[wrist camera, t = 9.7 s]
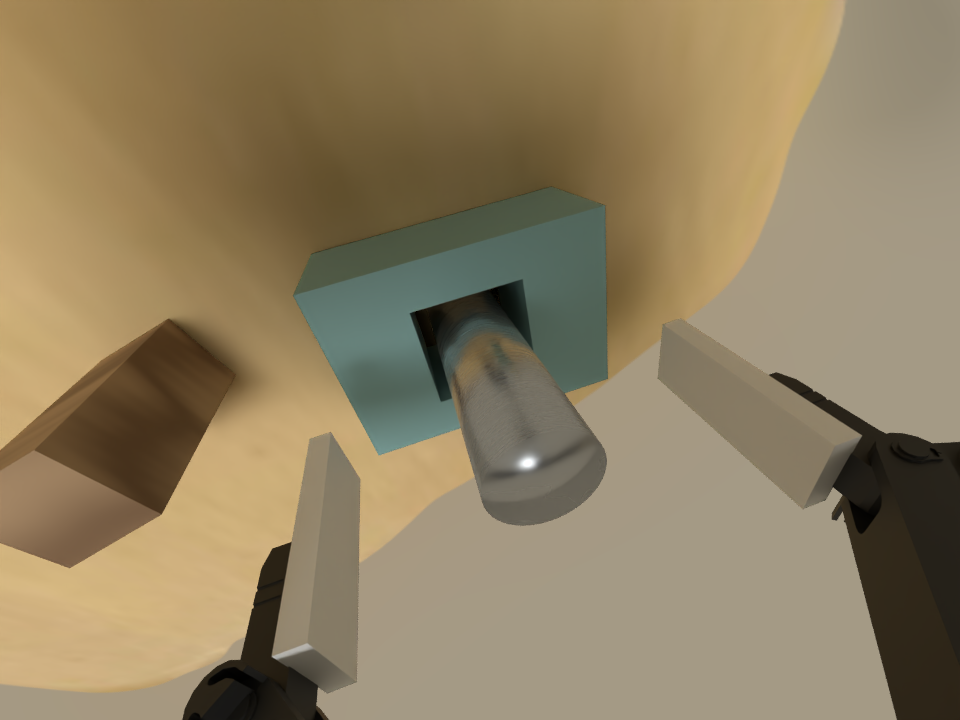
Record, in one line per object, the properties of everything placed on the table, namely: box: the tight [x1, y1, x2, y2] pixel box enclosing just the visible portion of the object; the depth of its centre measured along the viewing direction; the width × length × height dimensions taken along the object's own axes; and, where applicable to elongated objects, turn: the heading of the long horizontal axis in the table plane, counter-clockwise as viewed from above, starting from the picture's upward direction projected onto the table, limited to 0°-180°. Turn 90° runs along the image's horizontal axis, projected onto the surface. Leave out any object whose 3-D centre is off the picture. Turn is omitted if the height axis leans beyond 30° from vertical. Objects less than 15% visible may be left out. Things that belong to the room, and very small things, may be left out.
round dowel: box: [426, 289, 607, 525], centre depth 18 cm, size 4×4×15 cm
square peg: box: [0, 319, 235, 568], centre depth 18 cm, size 4×4×10 cm
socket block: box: [293, 187, 608, 455], centre depth 21 cm, size 10×14×6 cm
